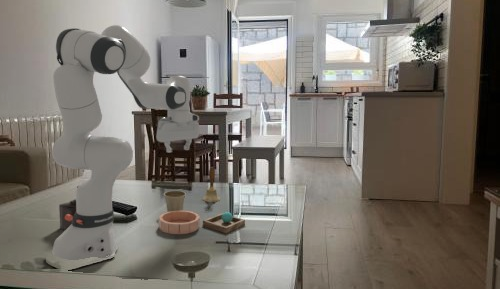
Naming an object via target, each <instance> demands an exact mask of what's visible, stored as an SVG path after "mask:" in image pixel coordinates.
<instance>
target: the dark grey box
mask: <svg viewBox="0 0 500 289" xmlns="http://www.w3.org/2000/svg"><path fill="white" fill-rule="evenodd" d="M78 186H79V185H78ZM78 186H77V187H76V189H77V188H78ZM58 209H59V229H61V230H62V231H65V230H66V229H67V228H68V227H69V226H70V225H71V224H72V221H68V220H66V219H65V216H66V215H67V214H70V215H72V216H73V217H74V214H75V212H76V198H75V199H73V200H70V201H69V202H65V203H61V204H59V208H58Z"/></svg>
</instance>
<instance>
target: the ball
mask: <svg viewBox="0 0 500 289" xmlns="http://www.w3.org/2000/svg"><path fill="white" fill-rule="evenodd" d="M222 213H223V215H222V220H223V222H225V223H229V222H231V221H232V218H233V217H232V216H233V214H232V213H231V212H229V211H225V212H222Z"/></svg>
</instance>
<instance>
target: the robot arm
mask: <svg viewBox="0 0 500 289" xmlns="http://www.w3.org/2000/svg"><path fill="white" fill-rule="evenodd" d="M55 51H56V60H57V62H58V63H59V65H60V66H58V67H57V68H55V70H54V72H53V87H54V93H55V98H56V101H57V104H58V108H59V111H60V115H61V118H62V122H63V123H62V124H63V132H62V134H61V135H60V136H59V137H58V138H57V139H56V140H55V141H54V143H53V144H52V150H51V154H52V158H53V160H54V162H55V163H56V164H57V165H59V166H61V167H63V168H64V167H65V168H68V169H73V170H89V171H91V176H90V178H88V179H87V180H84V181H83V182H81V183H80V184H79V185H78V188H77V187H76V191H75V199H76V212H75V214H74V217H73V216H72V215H70V214H67V215H66V216H65V219H66V220H68V221H72V224H71V225H70V226H69V227H68V228H67V229H66V230H63V232H62V233H61V234H60V235H59V236H58V237H57V238H55V240H54V243H53V246H52V247H53V248H52V253H53V255H55V256H58V257H60V258H63V259H67V260H79V259H85V258H90V257H98V258H108V257H113V256H115V257H116V253H115V251H116V250H117V249H118V250H119V246H118V245H117V241H116V236H115V231H114V220H115V216H114V208H113V189H114V185H115V182H116V180H117V178H118V177H119V175H120V174H121V173H123V172H124V171H125V170H126V169H127V168H128V167H130V165H131V163H132V161H133V158H134V150H133V148H132V146H131V144H130V142H129V141H127V140H125V139H122V138H117V137H113V136H100V135H99V136H97V135H93V134H92V133H91V132H93V131H94V130H95V129H97V128H98V127H99V126H100V125H101V123H102V119H103V114H102V111H101V110H102V109H101V106H100V102H99V98H98V94H97V91H96V88H95V84H94V74H95V73H98V74H101V75H114V74H116V73H117V76H118V77H119V79H120V80H121V82H122V83H123V84H124V85H125V87H126V89H128V91H129V92H130V94H131V96H133V99H134V102H135V103H136V105H137V106H138V107H139V108H140V109H144V110H150V109H151V110H152V109H154V110H165V111H167V117H161V118H160V119H159V120H158V123H157V128H156V137H155V138H156V141H157V142H159V143H163V144H164V147H165V148H166V149H165V151H166V153H173V148H172V147H171V146H170V145H171V142H175V141H183V140H185V145H183V150H185V151H189V150H190V146H191V144H192V141H193V139H198V138H199V135H200V124H199V121H200V116H199V115H198V114H195V113H193V112H191V107H190V101H191V84H190V80H189V78H188V77H186V76H185V75H184V76H183V75H178V74H173V75H170V77H169V79H168V81H167V82H165V83H154V82H153V83H152V82H146V81H143V78H141V77H143V76H144V75H145V74H146V73H147V72H148V70H149V68H150V65H151V56H150V53H149V51H148V50H147V49H146V47H145V46H144V45H143V44H142V43H141V42H140V41H139V39H138V38H137V37H136V36H135V35H134V34H132V33H131V32H130V31H129V30H128V29H126V28H125V27H123V26H122V25H119V24H116V25H115V24H114V25H110V26H108V27H106V28H105V29H104V30H103V31H102V32H101V34H100V33H97V32H95V31H91V30H85V29H80V28H67V29H64V30H62V31H61V32H60V33H59V35H58V36H57V39H56V44H55ZM118 250H117V251H118ZM108 255H109V256H108ZM106 256H108V257H106Z"/></svg>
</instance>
